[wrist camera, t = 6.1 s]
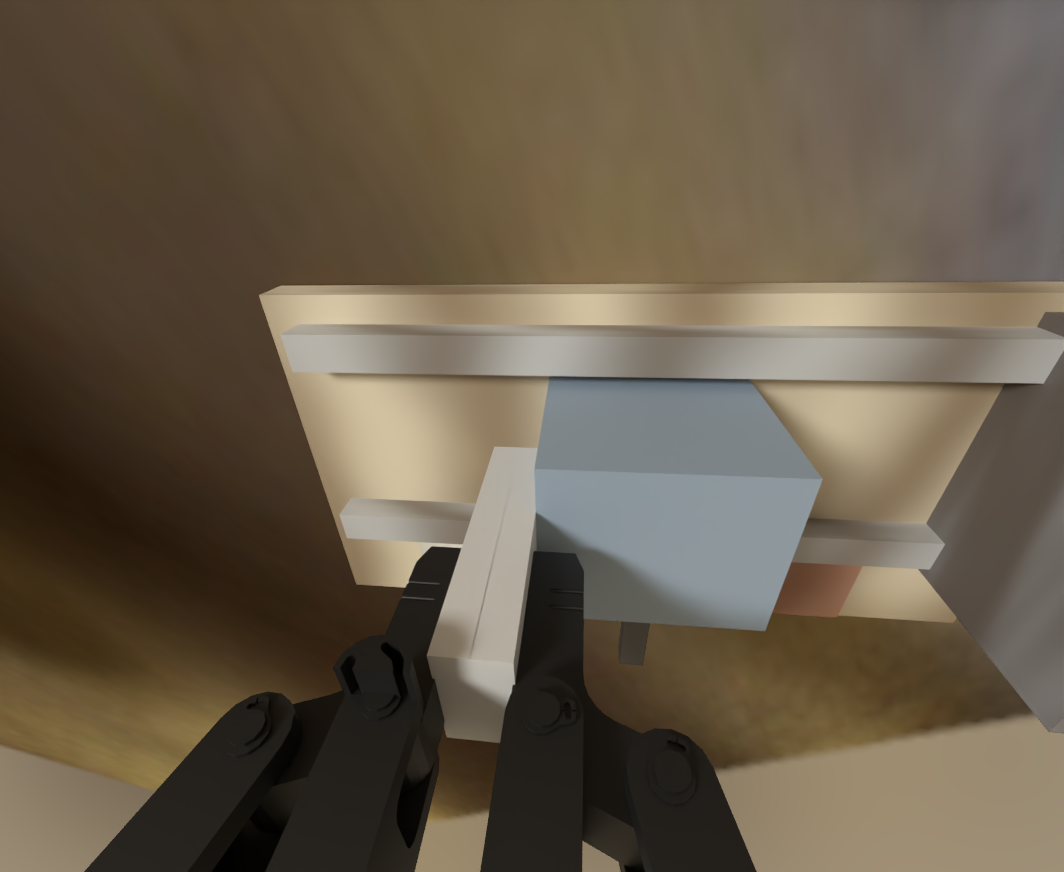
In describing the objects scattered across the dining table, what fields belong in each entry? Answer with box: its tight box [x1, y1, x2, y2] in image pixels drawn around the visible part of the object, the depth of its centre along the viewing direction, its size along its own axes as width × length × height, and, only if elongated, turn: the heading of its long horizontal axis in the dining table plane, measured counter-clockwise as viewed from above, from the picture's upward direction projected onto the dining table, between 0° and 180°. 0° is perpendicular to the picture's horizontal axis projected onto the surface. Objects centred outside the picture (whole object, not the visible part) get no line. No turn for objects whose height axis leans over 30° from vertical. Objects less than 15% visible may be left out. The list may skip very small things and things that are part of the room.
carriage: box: [534, 376, 823, 665], centre depth 14 cm, size 6×9×5 cm, turn 2°
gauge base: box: [259, 282, 1064, 733], centre depth 14 cm, size 25×13×7 cm, turn 92°
